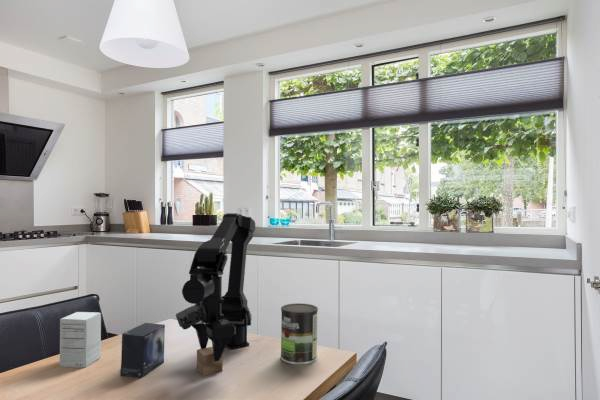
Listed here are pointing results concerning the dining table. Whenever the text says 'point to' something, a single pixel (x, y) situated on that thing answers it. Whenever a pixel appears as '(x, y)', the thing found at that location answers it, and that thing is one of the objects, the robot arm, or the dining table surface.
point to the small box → (142, 349)
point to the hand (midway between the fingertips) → (209, 355)
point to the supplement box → (80, 339)
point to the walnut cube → (208, 361)
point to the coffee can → (299, 334)
